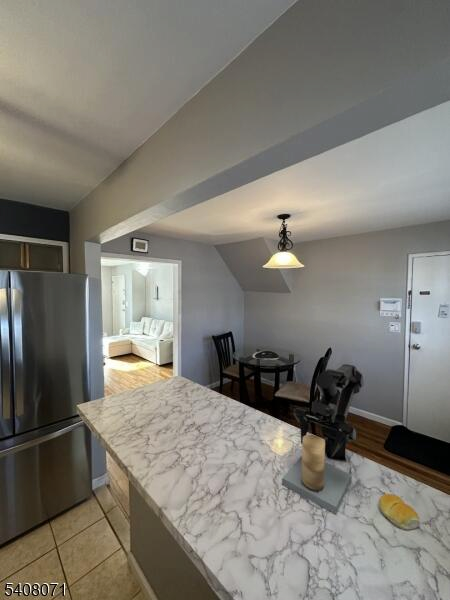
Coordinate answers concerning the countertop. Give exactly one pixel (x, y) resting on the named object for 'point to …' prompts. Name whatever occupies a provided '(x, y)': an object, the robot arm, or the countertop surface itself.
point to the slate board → (331, 493)
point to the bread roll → (398, 512)
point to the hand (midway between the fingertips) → (316, 449)
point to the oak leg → (313, 463)
